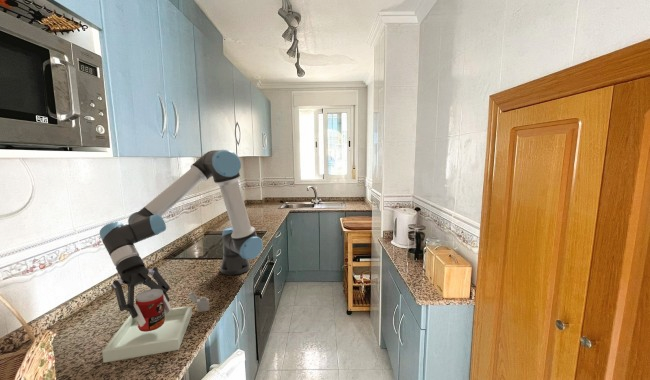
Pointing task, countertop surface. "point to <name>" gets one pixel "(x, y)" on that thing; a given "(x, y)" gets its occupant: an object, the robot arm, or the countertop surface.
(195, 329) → the countertop surface
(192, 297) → the lighter
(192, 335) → the countertop surface
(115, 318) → the countertop surface
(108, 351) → the tray
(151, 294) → the canned food
